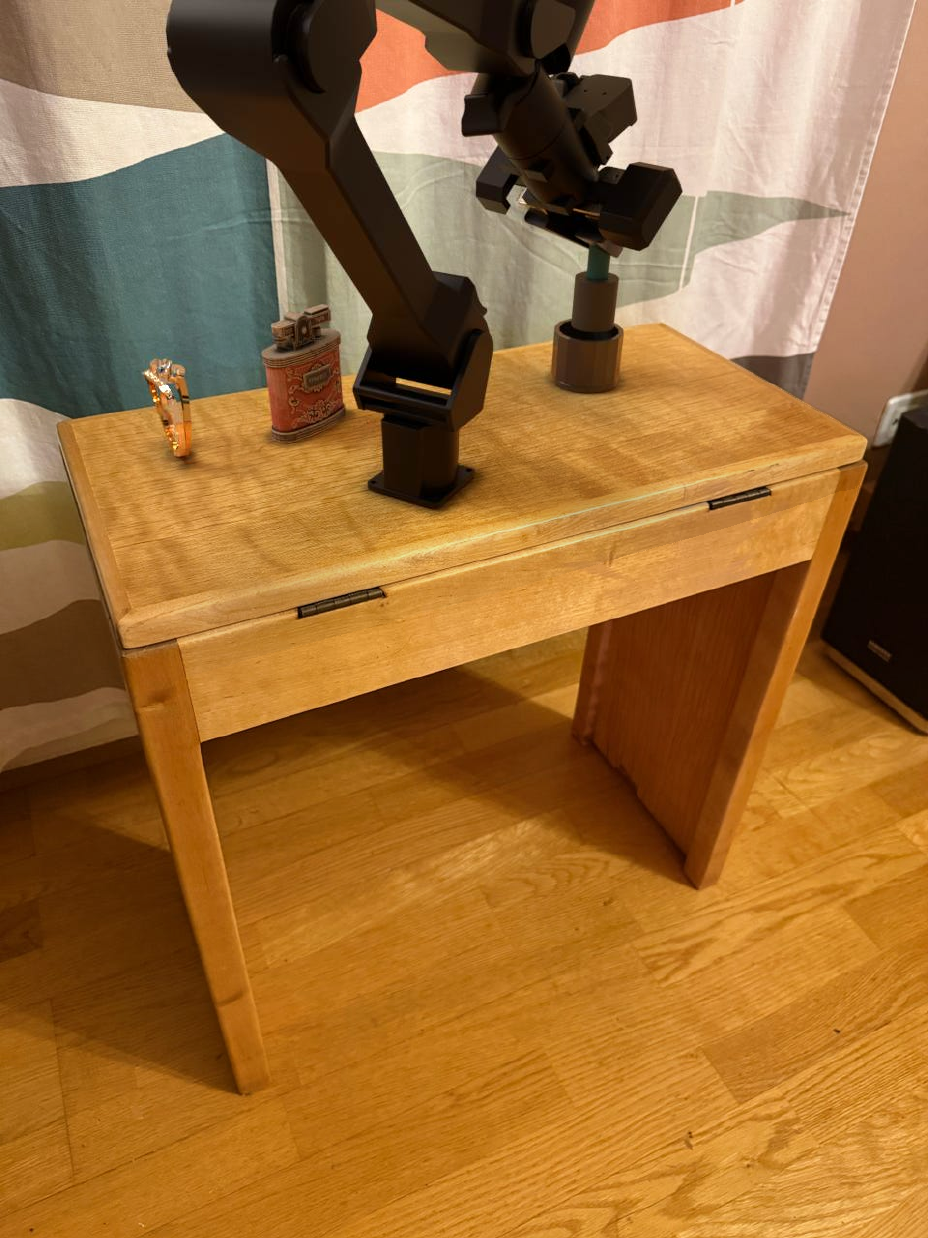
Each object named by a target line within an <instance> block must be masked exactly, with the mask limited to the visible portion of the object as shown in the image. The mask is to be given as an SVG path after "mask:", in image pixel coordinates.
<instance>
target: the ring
mask: <svg viewBox="0 0 928 1238" xmlns="http://www.w3.org/2000/svg"><path fill="white" fill-rule="evenodd" d="M149 365H150V366H149V367H150V368H147V369H146V370H144V371H142V372H141V374H142V375H143V377H144V379H145V383H146V386H147V387H148V390H149V393H150V395H151V398H152V401H153V404H154V407H155V409H156V411H157V414H158V418H159V419H160V421H161V422H160V423H161V425H162V427H163V430H164V433H165V434H166V437H167V439H168V443H169V445H170V447H171V449H172V452H173V456H174V457H177V458H179V457H185V456H189V455H190V453H191V448H192V413H191V411H192V410H191V403H190V396H189V391H188V386H187V382H186V380H185V374H186V369H185V367H184V366H183V365H181V364H176V363H175V364H173V361H172V360H171V359H169V360H168V358H163V359H159V358H154V359H152V360H151V361H149ZM174 373H175V374H176V376H175V374H174ZM167 384H171V385H172V384H174V387H175V389H176V391H177V393H178V397H179V400H180V405H181V412H180V408H179V405H178V403H177V400H176V398H175V395H174V393H173V392H172V390H171V389H170V388H169V386H168V385H167ZM157 390H158V392H157ZM171 413H172V415H171ZM181 413H182V414H181ZM172 416H173V418H172ZM173 420H174V421H173ZM174 423H175V424H174Z"/></svg>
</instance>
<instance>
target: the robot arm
mask: <svg viewBox="0 0 928 1238" xmlns="http://www.w3.org/2000/svg"><path fill="white" fill-rule="evenodd" d="M595 4H596V0H171V3H170V7H169V11H168V12H167V16H166V24H165V36H166V44H167V50H166V57H167V59H168V63H169V66H170V69H171V71H172V73H173V75H174V77H175V79H176V80H177V83H178V85H179V86H180V88H181V89H182V91H184V93H185V94H186V96H188V97H189V99H191V101H192V102H194V103H195V105H196V106H197V107H199V108H200V110H202V112H203V113H204V114H205V115H206V116H207V117H208V118H209V119H210V120H211V121H212V122H213V123H214V124H215V125H216V126H217V127H218V128H219V129H220V130H221V131H222V132H224V133H226V134H227V135H229V136H230V137H232V138H233V139H235V140H237V141H238V142H239V143H241V144H243V145H244V146H246V147H247V148H249V149H250V150H252V151H254V152H255V153H257V154H258V155H260V156H262V157H263V158H265V159H266V160H268V161H269V162H271V163H272V164H273V165H274V166H275V167H276V168H277V169H278V171H279V172H280V174H281V175H282V177H283V179H284V180H285V181H286V183H287V184H288V186H289V188H290V189H291V191H292V192H293V194H294V195H295V196H296V197H295V198H297V201H299V203H300V204H301V206H302V207H303V209H304V210H305V212H306V213H307V215H308V217H309V218H310V220H311V221H312V223H313V224H314V226H315V227H316V230H317V231H318V232H319V234H320V235H321V237H322V238H323V240H324V241H325V243H326V244H327V246H328V247H329V249H330V251H331V252H332V253H333V255H334V257H335V258H336V260H337V261H338V262H339V264H340V266H341V268H342V269H343V270H344V272H345V274H346V275H347V277H348V278H349V280H350V282H351V283H352V284H353V286H354V287H355V289H356V290H357V292H358V294H359V295H360V296H361V298H362V299H363V301H364V303H365V304H366V306H367V307H368V309H369V310H370V313H371V314H372V316H371V319H370V323H369V326H368V330H367V333H366V336H365V337H366V340H367V343H368V345H367V347H366V351H365V354H364V356H363V358H362V361H361V364H360V367H359V369H358V372H357V374H356V377H355V379H354V382H353V384H352V388H351V391H352V395H353V397H354V401H355V404H356V407H357V409H358V410H359V411H360V410H361V411H369V412H373V413H377V414H382V418H380V430H381V431H380V433H381V449H382V450H381V453H382V470H381V471H379V472H378V473H377V474H376V475H374V476H373V477H371V478H370V479H368V480H367V483H366V484H367V489H368V490H370V491H374V492H377V493H381V494H384V495H387V496H390V497H394V498H397V499H401V500H404V501H408V502H411V503H415V504H418V505H422V506H423V507H424V506H425V507H428V508H430V509H431V508H432V509H437V508H440V507H441V506H442V505H444V503H446V501H448V500H449V499H450V498H451V497H452V496H454V495H455V494H456V493H457V492H458V491H459V490H460V489H462V488H463V487H464V486H465V485H466V484H467V483H469V481H471V480H472V479H473V478H474V477H475V476H476V469H475V468H473V467H471V466H466V465H463V464H460V463H459V460H460V430H461V429H462V428H463V427H464V426H466V425H467V424H468V423H470V422H471V421H472V420H473V419H474V418H476V417H477V416H478V415H479V414H481V412H483V410H484V406H485V400H486V397H487V396H486V395H487V391H488V383H489V379H490V373H491V367H492V362H493V355H494V340H493V336H492V334H491V330H490V327H489V324H488V322H487V320H486V318H485V316H486V315H487V313H488V308H487V307H485V306H483V304H482V302H481V300H480V297H479V295H478V291H477V288H476V287H477V286H476V285H475V284H474V282H473V281H472V280H471V278H470V277H468V276H466V275H460V274H456V273H455V274H454V273H448V272H444V271H443V272H442V271H437V270H433V269H432V267H431V266H430V264H429V262H428V260H427V257H426V256H425V254H424V252H423V250H422V248H421V246H420V243H419V242H418V240H417V238H416V236H415V234H414V232H413V230H412V227H411V225H410V224H409V222H408V220H407V219H406V218H407V217H405V213H404V212H403V210H402V208H401V206H400V205H399V202H398V201H397V199H396V197H395V195H394V193H393V191H392V189H391V187H390V185H389V183H388V181H387V178H386V177H385V175H384V173H383V171H382V169H381V167H380V165H379V163H378V161H377V159H376V157H375V155H374V154H373V152H372V150H371V148H370V146H369V144H368V142H367V140H366V138H365V136H364V134H363V132H362V130H361V128H360V126H359V124H358V121H357V119H356V108H357V103H358V99H359V98H358V97H359V92H360V87H361V81H362V76H363V67H362V63H361V61H360V60H361V59H362V57H363V56H364V54H365V53H366V51H367V50H368V49H369V47H370V45H371V44H372V43H373V41H374V39H376V37H377V33H378V19H377V18H378V17H377V10H378V11H380V12H382V13H384V14H386V15H388V16H390V17H392V18H394V19H396V20H397V21H400V22H401V23H403V24H405V25H408V26H410V27H412V28H413V29H415V30H417V31H419V32H420V33H421V34H422V35H424V37H425V39H424V49H425V50H426V52H427V53H428V54H429V55H430V56H431V57H432V58H433V59H434V60H435V61H436V62H438V64H440V66H442V67H443V68H444V69H446V70H447V71H451V72H452V71H453V72H462V73H463V72H464V73H473V74H477V76H476V78H475V81H474V83H473V85H472V88H471V90H470V93H468V94H465V95H464V97H463V104H464V106H463V108H464V109H463V113H462V115H461V120H460V128H461V129H460V131H461V135H462V137H463V138H473V137H483V136H492V138H493V139H494V141H495V143H496V144H497V145H496V147H495V149H493V152H492V154H491V155H490V157H489V159H488V160H487V162H486V163H485V165H484V167H483V168H482V170H481V171H480V173H479V174H478V176H477V178H476V179H475V197H476V199H477V200H478V201H479V203H480V204H481V206H482V207H483V208H484V210H486V211H490V212H493V213H497V214H500V215H503V216H504V215H505V216H506V215H507V213H508V212H509V211H510V208H511V206H512V204H511V203H510V201H509V200H508V199H507V198H508V196H509V195H510V193H511V192H512V190H513V188H514V187H515V186H517V187H521V188H523V189H522V190H521V191H520V193H519V195H518V197H516V202H517V204H518V205H520V206H524V208H525V209H526V212H525V214H524V216H523V221H524V222H525V223H526V224H527V225H531V226H533V227H536V228H538V229H540V230H542V231H545V232H548V233H550V234H552V235H555V236H556V237H559V238H561V239H564V240H566V241H568V242H570V243H573V244H575V245H577V246H580V247H582V248H584V249H586V250H589V244H590V245H592V246H594V247H595V248H597V249H599V250H601V251H602V252H604V253H606V254H608V255H610V257H612V258H614V259H618V258H619V257H620V255H621V254H622V252H623V251H624V248H625V249H629V250H632V251H635V252H641V251H644V250H646V249H648V248H649V247H650V246H651V243H652V242H653V240H654V239H655V237H656V235H657V234H658V233H659V231H660V229H661V228H662V226H663V224H664V223H665V221H666V220H667V218H668V216H669V215H670V213H671V212H672V210H673V208H674V206H675V205H676V204H677V202H678V200H679V199H680V197H681V196H682V194H683V192H684V190H683V188H682V184H681V181H680V180H679V177H678V176H677V173H676V171H675V168H672V167H669V166H664V165H659V164H653V163H648V162H642V161H636V162H630V163H629V164H627V167H626V168H620V167H615V166H610V165H607V164H608V162H609V161H610V160H611V158H612V156H613V154H614V151H613V150H612V148H611V146H610V144H611V143H612V142H613V141H614V140H616V139H617V138H619V136H621V134H622V133H623V132H624V131H626V130H627V129H628V128H629V127H633V126H635V124H636V123H637V121H638V111H637V105H636V99H635V92H634V85H633V81H632V79H631V78H630V77H625V76H616V75H611V74H610V75H609V74H602V73H595V74H591V75H588V74H587V75H586V74H581V75H580V76H578V74H577V73H576V72H573V71H569V70H570V68H571V65H572V63H573V60H574V57H575V55H576V53H577V50H578V47H579V45H580V42H581V39H582V37H583V34H584V32H585V29H586V27H587V24H588V21H589V18H590V16H591V13H592V11H593V8H594V5H595ZM601 166H603V167H602V168H601ZM600 168H601V169H600ZM397 379H398V380H399V379H400V380H405V381H409V382H412V383H413V382H414V383H417V384H422V385H425V386H426V385H427V386H430V387H435V388H439V389H443V390H448V391H450V394H447V393H443V392H440V391H439V392H438V391H436V390H430V389H426V388H423V387H422V388H421V387H417V386H413V385H409V384H404V383H399V382H397V381H398V380H397Z"/></svg>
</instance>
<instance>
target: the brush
mask: <svg viewBox="0 0 928 1238" xmlns="http://www.w3.org/2000/svg"><path fill="white" fill-rule="evenodd" d="M610 264H611V256H610V255H608V254H606V253H604V252H602V251H601V250H599V249H597V248H595V247H594V246H592V245H590V244H589V249H588V253H587V264H586V270H585V271H580V272H578V273H576V274H575V279H574V288H573V297H572V299H573V300H572V312H571V313H572V314H571V319H572V321H571V325H572V326H573V327H574V328H575V329H578V330H581V331H585V332H606V331H609V330H611V329H612V328H613V327H614V323H615V319H616V317H615V316H616V309H617V301H618V292H619V284H620V277H619V276H618V275H617V274H616V273H612V272H610Z"/></svg>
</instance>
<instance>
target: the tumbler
mask: <svg viewBox="0 0 928 1238" xmlns="http://www.w3.org/2000/svg"><path fill="white" fill-rule="evenodd" d="M571 321H572V318H568V319H565V320H561V321H559V322H558V323H556V324H554V326H553V337H552V339H553V340H552V350H551V367H550V381H551V382H552V383H553V385H555V386H556V387H559V388H560V389H562V390H565V391H569V392H574V393H579V394H596V393H602V392H606V391H610V390H612V389H613V388H615V387H617V385H618V384H619V383H618V382H619V377H620V370H621V361H622V353H623V344H624V336H625V332H624V331H625V330H624V328H623V327H622V326H620V325H619V324H618V323H615V322H614V327H613V328H612V329H611V330H609V331H606V332H585V331H581V330H578V329H575V328H574V327H573V326H572V325H571Z"/></svg>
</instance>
